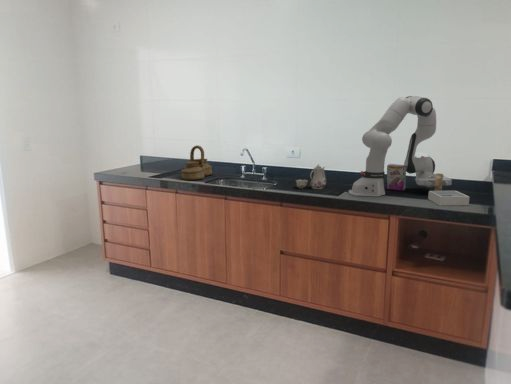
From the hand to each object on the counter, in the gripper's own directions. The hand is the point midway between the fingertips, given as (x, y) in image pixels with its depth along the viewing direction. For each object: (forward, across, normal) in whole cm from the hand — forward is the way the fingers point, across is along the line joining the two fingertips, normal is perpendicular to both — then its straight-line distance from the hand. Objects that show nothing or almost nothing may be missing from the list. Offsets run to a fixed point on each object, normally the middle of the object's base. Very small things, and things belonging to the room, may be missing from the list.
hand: (438, 184), depth 249 cm
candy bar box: (-23, -18, +8) cm, 30 cm away
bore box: (+13, 0, +8) cm, 16 cm away
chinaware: (-32, -70, +8) cm, 78 cm away
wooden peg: (-1, 0, +8) cm, 8 cm away
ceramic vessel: (-75, -157, +9) cm, 174 cm away
